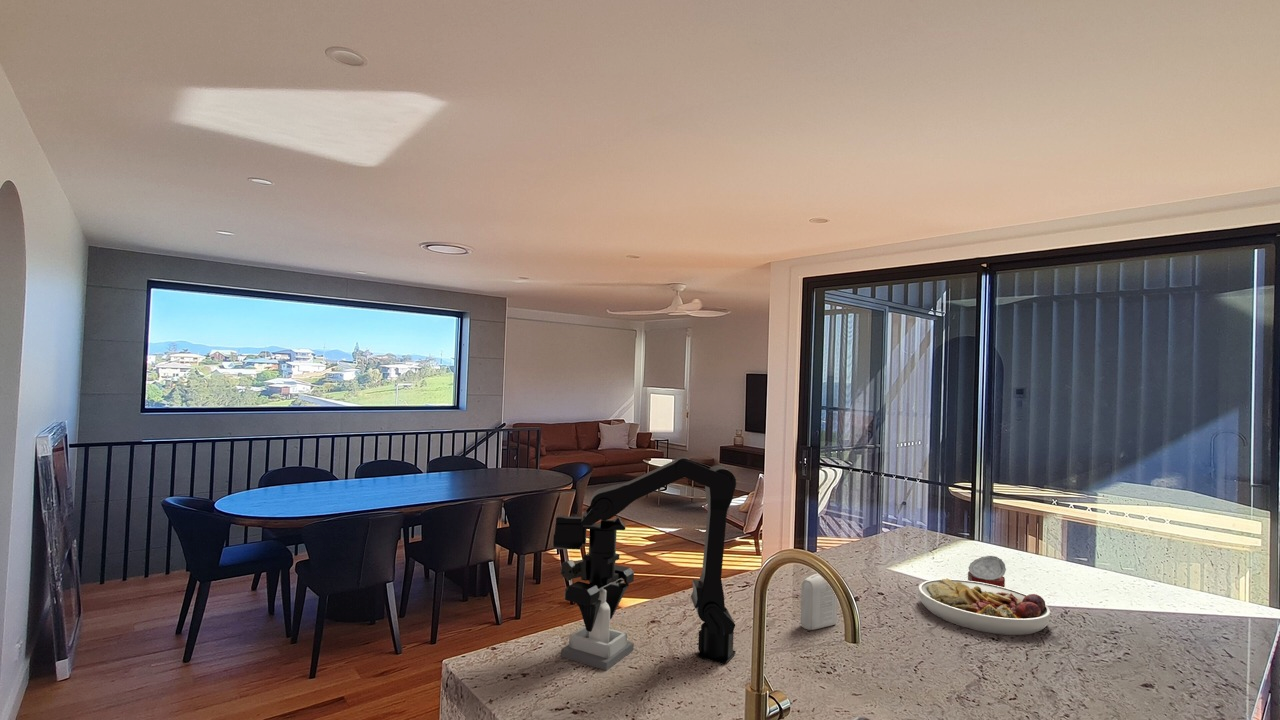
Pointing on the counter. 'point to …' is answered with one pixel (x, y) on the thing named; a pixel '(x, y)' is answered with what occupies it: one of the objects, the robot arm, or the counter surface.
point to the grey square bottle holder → (597, 649)
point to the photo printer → (817, 603)
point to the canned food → (987, 571)
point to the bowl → (985, 606)
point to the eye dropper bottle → (601, 621)
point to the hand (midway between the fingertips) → (599, 624)
